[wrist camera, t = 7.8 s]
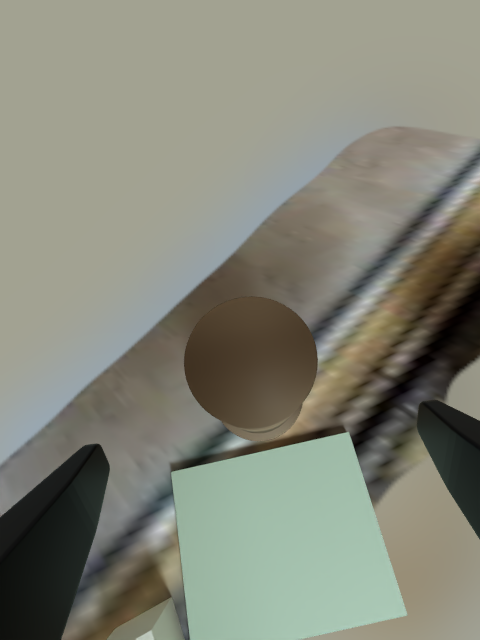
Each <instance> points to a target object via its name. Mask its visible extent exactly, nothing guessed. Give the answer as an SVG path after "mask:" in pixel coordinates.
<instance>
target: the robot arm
mask: <svg viewBox="0 0 480 640" xmlns="http://www.w3.org/2000/svg"><path fill="white" fill-rule="evenodd" d="M417 429H418V432H419V435H420V437H421V439H422V440H423V442H424V444H425V446H426V448H427V450H428V452H429V454H430V456H431V458H432V460H433V462H434V464H435V466H436V468H437V470H438V472H439V474H440V476H441V478H442V480H443V481H444V483H445V485H446V487H447V489H448V490H449V492H450V493H451V495H452V497H453V498H454V500H455V501H456V503H457V504H458V506H459V508H460V509H461V511H462V512H463V514H464V516H465V517H466V518H467V520H468V522H469V523H470V525H471V526H472V528H473V530H474V531H475V533H476V534H477V536H478V537H479V539H480V421H479V420H477V419H475V418H473V417H471V416H469V415H467V414H464V413H463V412H460V411H458V410H456V409H454V408H452V407H450V406H448V405H446V404H444V403H442V402H440V401H438V400H429V401H423V402H421V403H420V404H419V410H418V418H417ZM109 471H110V467H109V463H108V460H107V458H106V456H105V453H104V451H103V449H102V447H101V445H99V444H90V445H85V446H83V447H82V448H80V449H79V450H78V451H77V452H76V453H75V454H73V455H72V456H71V457H70V458H69V459H68V460H66V461H65V462H64V463H63V464H62V465H61V466H59V467H58V468H57V469H56V470H55V471H54V472H52V473H51V474H50V475H49V476H48V477H47V478H46V479H44V480H43V481H42V482H41V483H40V484H39V485H37V486H36V487H35V488H34V489H33V490H32V491H30V492H29V493H28V494H27V495H26V496H25V497H23V498H22V499H21V500H20V501H19V502H18V503H16V504H15V505H14V506H13V507H12V508H11V509H9V510H8V511H7V512H6V513H5V514H4V515H2V516H1V517H0V640H61V638H62V635H63V632H64V629H65V626H66V623H67V619H68V616H69V613H70V610H71V607H72V604H73V601H74V598H75V595H76V592H77V589H78V586H79V582H80V579H81V576H82V573H83V570H84V567H85V564H86V561H87V558H88V555H89V552H90V549H91V545H92V542H93V539H94V536H95V533H96V529H97V525H98V521H99V517H100V513H101V508H102V504H103V499H104V494H105V490H106V485H107V481H108V476H109Z"/></svg>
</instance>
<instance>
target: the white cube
mask: <svg viewBox="0 0 480 640" xmlns="http://www.w3.org/2000/svg"><path fill="white" fill-rule="evenodd" d="M106 640H185V638H184V635H183V632H182V628H181V625H180V622H179V619H178V615H177V612H176V609H175V606H174V602H173V599H172V597H171V598H169V599H167V600H165V601H163V602H162V603H160V604H158V605H156V606H154V607H153V608H151V609H149V610H147V611H145V612H144V613H142V614H140V615H138V616H136V617H135V618H133V619H131V620H129V621H127V622H126V623H124V624H122V625H120V626H119V627H117V628H115V629H114V631H113V632H112V633H111V634H110V636H109V637H108V638H107V639H106Z"/></svg>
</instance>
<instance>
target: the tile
mask: <svg viewBox="0 0 480 640" xmlns="http://www.w3.org/2000/svg"><path fill="white" fill-rule="evenodd" d="M171 475H172V484H173V493H174V502H175V511H176V520H177V528H178V537H179V546H180V555H181V564H182V573H183V582H184V590H185V599H186V608H187V617H188V626H189V635H190V640H299V639H304V638H308V637H313V636H317V635H321V634H326V633H331V632H335V631H340V630H344V629H349V628H353V627H357V626H362V625H366V624H370V623H375V622H380V621H384V620H389V619H393V618H398V617H402V616H406V615H407V612H406V609H405V606H404V603H403V600H402V597H401V594H400V590H399V587H398V584H397V581H396V578H395V575H394V572H393V568H392V565H391V562H390V560H389V556H388V553H387V550H386V547H385V544H384V541H383V537H382V534H381V531H380V528H379V525H378V522H377V519H376V516H375V512H374V509H373V506H372V503H371V500H370V497H369V494H368V491H367V487H366V484H365V481H364V478H363V475H362V472H361V469H360V466H359V463H358V459H357V456H356V453H355V450H354V447H353V444H352V441H351V438H350V435H349V432H346V433H341V434H337V435H332V436H328V437H324V438H319V439H315V440H310V441H306V442H301V443H297V444H293V445H288V446H284V447H279V448H275V449H270V450H266V451H262V452H257V453H253V454H248V455H244V456H239V457H235V458H230V459H226V460H222V461H217V462H213V463H208V464H204V465H199V466H195V467H191V468H186V469H182V470H177V471H173V472H171Z"/></svg>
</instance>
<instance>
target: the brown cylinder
mask: <svg viewBox="0 0 480 640" xmlns="http://www.w3.org/2000/svg"><path fill="white" fill-rule="evenodd" d="M317 363H318V358H317V350H316V345H315V342H314V339H313V337H312V334H311V332H310V330H309V329H308V327H307V325H306V324H305V323H304V321H303V320H302V319H301V318H300V317H299V316H298V315H297V314H296V313H295V312H294V311H292V310H291V309H290V308H288V307H286V306H285V305H283V304H281V303H279V302H277V301H274V300H271V299H267V298H262V297H242V298H236V299H232V300H229V301H227V302H224V303H222V304H220V305H218V306H216V307H215V308H213V309H212V310H211V311H209V312H208V313H207V314H206V315H205V316H204V317H203V318H202V319H201V320H200V321H199V322H198V323H197V325H196V326H195V328H194V329H193V331H192V333H191V335H190V337H189V340H188V343H187V346H186V350H185V357H184V367H185V375H186V380H187V383H188V385H189V388H190V390H191V392H192V394H193V396H194V397H195V399H196V400H197V401H198V403H199V404H200V405H201V406H202V407H203V408H204V409H205V410H206V411H207V412H208V413H210V414H211V415H212V416H214V417H215V418H217V419H219V420H221V421H222V423H223V424H224V425H225V426H226V427H227V428H228V429H229V430H230V431H231V432H232V433H234V434H235V435H237V436H239V437H241V438H244V439H247V440H251V441H266V440H270V439H274V438H276V437H278V436H280V435H282V434H283V433H285V432H286V431H287V430H288V429H290V427H291V426H292V425H293V424H294V423H295V421H296V420H297V418H298V416H299V414H300V411H301V408H302V403H303V402H304V400H305V399H306V397H307V396H308V394H309V393H310V391H311V389H312V386H313V384H314V381H315V378H316V373H317Z"/></svg>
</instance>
